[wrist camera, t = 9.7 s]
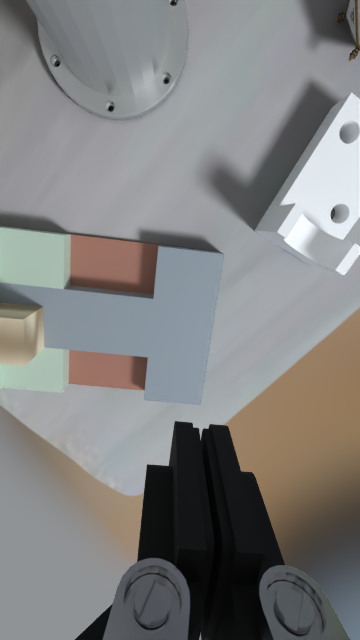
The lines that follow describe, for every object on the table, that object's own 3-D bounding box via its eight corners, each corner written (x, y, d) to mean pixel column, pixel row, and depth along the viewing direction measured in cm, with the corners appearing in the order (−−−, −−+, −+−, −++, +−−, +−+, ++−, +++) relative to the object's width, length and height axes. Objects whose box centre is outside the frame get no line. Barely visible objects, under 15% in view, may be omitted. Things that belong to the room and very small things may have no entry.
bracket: (306, 265, 34) (343, 275, 26) (253, 230, 32) (276, 232, 25) (386, 150, 30) (453, 127, 23) (330, 107, 29) (382, 69, 22)
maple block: (-3, 302, 31) (-31, 314, 27) (43, 306, 31) (22, 319, 27) (0, 343, 32) (-26, 362, 28) (44, 347, 32) (24, 366, 28)
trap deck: (-4, 225, 31) (-32, 225, 27) (220, 252, 33) (228, 256, 28) (4, 376, 36) (-18, 396, 32) (198, 393, 37) (202, 415, 33)
